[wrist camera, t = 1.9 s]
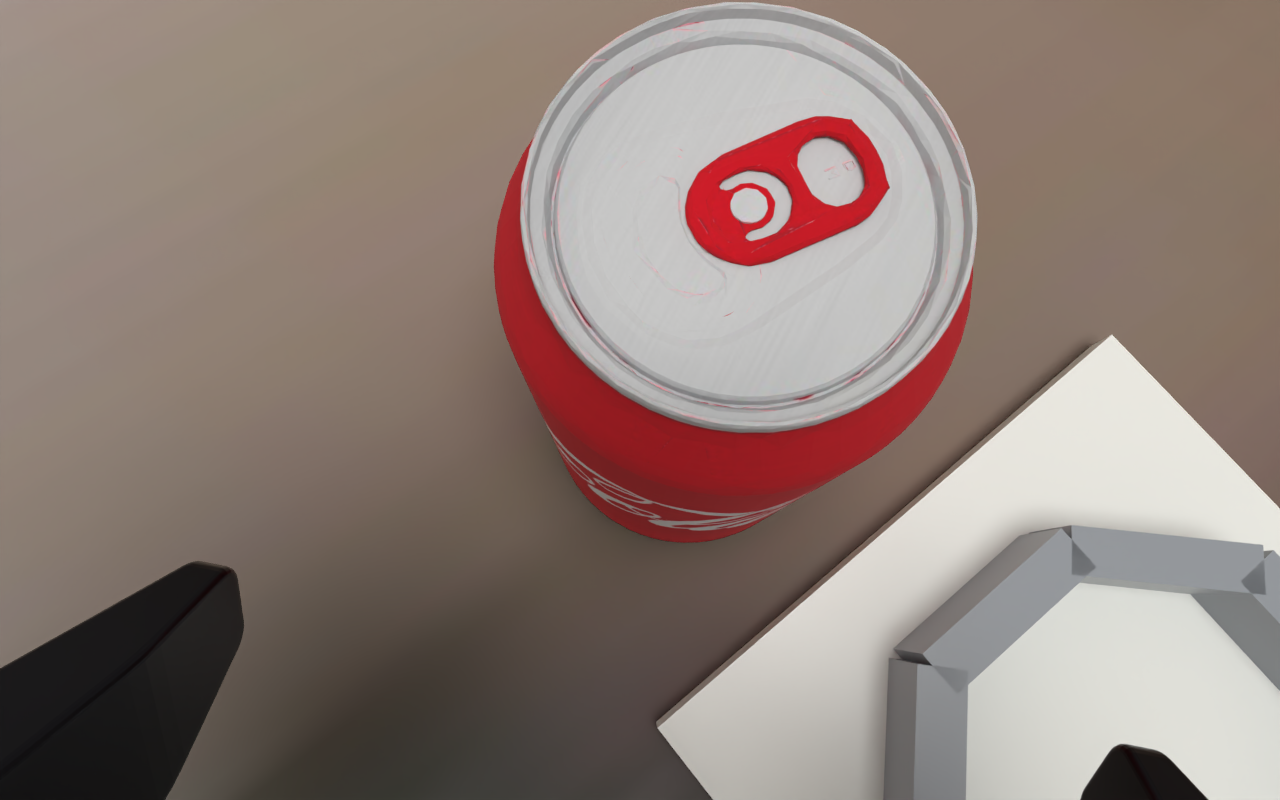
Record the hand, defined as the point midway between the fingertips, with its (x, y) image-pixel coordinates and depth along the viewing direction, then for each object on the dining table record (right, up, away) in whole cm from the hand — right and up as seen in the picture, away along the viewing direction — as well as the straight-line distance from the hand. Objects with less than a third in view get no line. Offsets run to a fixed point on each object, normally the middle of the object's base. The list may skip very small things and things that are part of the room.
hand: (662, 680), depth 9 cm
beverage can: (+1, +2, +13) cm, 13 cm away
